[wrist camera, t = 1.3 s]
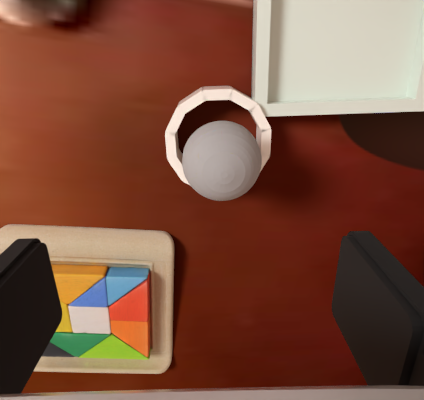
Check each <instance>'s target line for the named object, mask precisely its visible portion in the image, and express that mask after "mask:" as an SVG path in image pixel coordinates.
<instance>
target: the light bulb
mask: <svg viewBox="0 0 424 400" xmlns="http://www.w3.org/2000/svg"><path fill="white" fill-rule="evenodd" d="M261 165H262V156H261V151H260V148H259V146H258V144H257V142H256V140H255V138H254V136H253V135H252V134H251V133H250V132H249V131H248V130H247V129H246V128H244V127H243V126H241V125H239V124H237V123H234V122H230V121H215V122H210V123H208V124H205V125H203V126H201V127H200V128H198V129H197V130H196V131H195V132H194V133H193V134H192V135H191V136H190V137H189V139H188V141H187V142H186V145H185V147H184V151H183V158H182V167H183V172H184V175H185V177H186V179H187V181H188V183H189V184H190V186H191V187H192V188H193V189H194V190H195V191H197V192H198V193H199V194H201V195H202V196H204V197H206V198H209V199H212V200H217V201H226V200H232V199H235V198H238V197H240V196H242V195H243V194H245V193H246V192H247V191H248V190H249V189H250V188H251V187H252V186H253V185H254V183H255V182H256V180H257V178H258V176H259V173H260V170H261Z"/></svg>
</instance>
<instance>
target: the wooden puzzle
mask: <svg viewBox="0 0 424 400" xmlns="http://www.w3.org/2000/svg"><path fill="white" fill-rule="evenodd" d="M26 238H38V239H39V240H40V241H41V243H45V244H46V246H47V249H48V253H49V257H50V262H51V266H52V270H53V274H54V278H55V282H56V287H57V291H58V295H59V299H60V303H61V308H62V320H61V322H60V324H59V326H58V328H57V330H56V332H55V333H54V335H53V337H52V339H51V340H50V342H49V344H48V346H47V348H46V349H45V351H44V353H43V355H42V356H41V358H40V360H39V362H38V364H37V365H36V367H35V369H34V371H43V372H82V373H138V374H161V373H163V372H165V371H166V370H167V369H168V368H169V366H170V364H171V360H172V347H173V292H174V241H173V239H172V237H171V236H170V234H169V233H167V232H165V231H155V230H135V229H114V228H92V227H70V226H47V225H23V224H9V225H6V226H4V227H2V228H1V229H0V254H1V253H2V252H4V251H5V250H6V249H7V248H8V247H9V246H10V245H11V244H12V243H13V242H14V241H15V240H17V239H26Z"/></svg>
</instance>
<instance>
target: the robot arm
mask: <svg viewBox="0 0 424 400" xmlns="http://www.w3.org/2000/svg"><path fill="white" fill-rule="evenodd" d="M332 312H333V316H334V318H335V320H336V322H337V324H338V326H339V328H340V330H341V332H342V334H343V336H344V338H345V340H346V342H347V344H348V346H349V348H350V350H351V352H352V354H353V356H354V358H355V360H356V362H357V364H358V366H359V368H360V370H361V372H362V374H363V376H364V378H365V380H366V382H367V384H368V386H304V387H250V388H206V389H164V390H126V391H91V392H58V393H26V394H21V392H22V390H23V388H24V387H25V385H26V383H27V381H28V380H29V378H30V376H31V374H32V372H33V371H34V369H35V367H36V365H37V364H38V362H39V360H40V358H41V356H42V355H43V353H44V351H45V349H46V348H47V346H48V344H49V342H50V340H51V339H52V337H53V335H54V333H55V332H56V330H57V328H58V326H59V324H60V322H61V320H62V308H61V303H60V299H59V295H58V291H57V287H56V282H55V278H54V274H53V270H52V266H51V262H50V257H49V253H48V249H47V246H46V244H45V243H41V241H40V240H39V239H38V238H26V239H17V240H15V241H14V242H13V243H12V244H11V245H10V246H9V247H8V248H7V249H6V250H5V251H4V252H2V253H1V254H0V400H424V287H423V286H422V285H421V284H420V283H419V282H418V281H417V280H416V279H415V278H414V277H413V276H412V275H411V274H410V273H409V272H408V271H407V269H406V268H405V267H404V266H403V265H402V264H401V263H400V262H399V261H398V260H397V259H396V258H395V257H394V256H393V255H392V254H391V253H390V252H389V251H388V250H387V249H386V248H385V247H384V246H383V245H382V244H381V242H380V241H379V240H378V239H377V238H376V237H375V236H374V235H373V234H372V233H371V232H369V231H350V232H349V233H348V235H347V236H343V238H342V241H341V247H340V254H339V260H338V267H337V274H336V280H335V287H334V294H333V300H332Z"/></svg>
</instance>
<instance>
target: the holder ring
mask: <svg viewBox="0 0 424 400" xmlns="http://www.w3.org/2000/svg"><path fill="white" fill-rule="evenodd" d="M208 100H231V101H233V102H235V103H236V104H238V105H240V106H242V107H243V108H245V109H247V110H249V112H250V114H251V116H252V118H253V119H254V121H255V123H256V125H257V130H256V142H257V144H258V146H259V148H260V151H261V156H262V165H261V170H262V168H263V167H264V165H265V164H266V162H267V160H268V159H269V157H270V156H269V155H270V150H271V127H270V125H269V123H268V121H267V119H266V118H265V116H264V114H263V112H262V110H261V108H260V106H259V105H258V103H257V102H255V101H254V100H253V99H252V98H250V97H249V96H247V95H245V94H243V93H242V92H240V91H238V90H236V89H235V88H233V87H231V86H206V87H203V88H202V87H201V88H199V89H198V90H196V91H195V92H193V93H192V94H190V95H189V96H187V97H186V98H184V99H183V100H181V101H180V102H179V104H178V106H177V108H176V110H175V112H174V114H173V116H172V118H171V120H170V122H169V124H168V126H167V129H166V131H165V139H166V151H167V159H168V162H169V163H170V164H171V166H172V167H173V169H174V170H175V171H176V173H177V174H178V176H179V177H180V179H181V180H182V181H183V182H184V183H186V184H189V183H188V181H187V179H186V177H185V175H184V172H183V167H182V158H183V154H182V153H181V151H180V150H179V146H178V132H177V130H178V128H179V125H180V123H181V121H182V119H183V117H184V115H185V114H186V113H187V112H189V111H190V110H192V109H193V108H195V107H196V106H198V105H200V104H201V103H203V102H204V101H208ZM261 170H260V172H261ZM189 185H190V184H189Z"/></svg>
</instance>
